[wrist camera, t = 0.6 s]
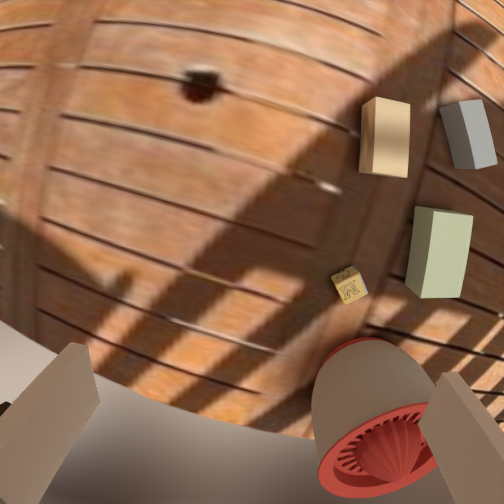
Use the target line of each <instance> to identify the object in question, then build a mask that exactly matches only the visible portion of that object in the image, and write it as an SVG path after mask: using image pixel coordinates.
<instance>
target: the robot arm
mask: <svg viewBox="0 0 504 504" xmlns="http://www.w3.org/2000/svg"><path fill="white" fill-rule="evenodd" d="M99 403H100V400H99V396H98V392H97V387H96V384H95V379H94V374H93V370H92V365H91V360H90V355H89V349H88V346H86V345H81V344H77V343H74V342H71V343H70V344H69V345H68V346H67V347H66V348H65V349H64V350H63V351H62V352H61V353H60V354H59V355H58V356H57V357H56V358H55V359H54V360H53V361H52V362H51V363H50V364H49V365H48V366H47V367H46V368H45V369H44V370H43V371H42V372H41V373H40V374H39V375H38V376H37V377H36V378H35V380H34V381H33V382H32V383H31V384H30V385H29V386H28V387H27V388H26V389H25V390H24V391H23V392H22V393H21V394H20V395H19V397H18V398H17V399H16V400H15V401H14V402H13V403H12V404H11V403H9V402H4V403H2V404H0V504H38V503H39V501H40V500H41V498H42V496H43V494H44V493H45V491H46V489H47V487H48V486H49V484H50V482H51V480H52V479H53V477H54V476H55V474H56V472H57V470H58V469H59V467H60V465H61V464H62V462H63V460H64V459H65V457H66V455H67V454H68V452H69V450H70V449H71V447H72V446H73V444H74V442H75V441H76V439H77V437H78V436H79V434H80V433H81V431H82V429H83V428H84V426H85V425H86V423H87V421H88V420H89V418H90V417H91V415H92V413H93V412H94V410H95V409H96V407H97V406H98V404H99ZM418 426H419V428H420V430H421V432H422V434H423V436H424V438H425V440H426V442H427V444H428V446H429V448H430V450H431V452H432V454H433V456H434V458H435V460H436V462H437V464H438V466H439V468H440V470H441V473H442V475H443V477H444V479H445V481H446V483H447V485H448V488H449V490H450V492H451V494H452V496H453V499H454V501H455V503H456V504H504V432H503V431H502V430H501V428H500V427H499V426H498V424H497V423H496V421H495V420H494V419H493V417H492V416H491V415H490V413H489V412H488V411H487V409H486V408H485V407H484V405H483V404H482V403H481V402H480V400H479V399H478V398H477V396H476V395H475V394H474V393H473V391H472V390H471V389H470V387H469V386H468V385H467V384H466V382H465V381H464V380H463V379H462V377H461V376H460V375H459V374H458V373H457V371H456V372H446V373H442V374H441V377H440V379H439V381H438V383H437V386H436V388H435V390H434V392H433V394H432V397H431V399H430V401H429V403H428V405H427V407H426V409H425V411H424V413H423V415H422V417H421V419H420V421H419V423H418Z"/></svg>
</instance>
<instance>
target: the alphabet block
mask: <svg viewBox="0 0 504 504" xmlns="http://www.w3.org/2000/svg"><path fill="white" fill-rule="evenodd" d="M331 279H332V281H333V283H334V285H335V287H336V289H337V291H338V293H339V295H340V297H341V299H342V301H343V303H344V305H347V304H349V303H351V302H353V301H355V300H357V299H359V298H360V297H362V296H364V295H366V294H368V291H367V289H366V287H365V284H364V282H363V280H362V277H361V275H360V273H359V272H358V270H357V269H356V268H355V267H354V266H353V265H352V266H350V267H348V268H346V269H344V270H342V271H340V272H339V273H337V274H335V275H333V276H331Z"/></svg>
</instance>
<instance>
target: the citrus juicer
mask: <svg viewBox="0 0 504 504" xmlns="http://www.w3.org/2000/svg"><path fill="white" fill-rule="evenodd" d="M435 388H436V387H435V385H434V384H433V382H432V381H431V379H430V378H429V377H428V375H427V374H426V372H425V371H424V370H423V368H422V367H421V366H420V365H419V364H418V363H417V361H416V360H414V359H413V358H412V357H411V356H410V355H408V354H407V353H406V352H405V351H403V350H402V349H400V348H398V347H397V346H396V345H394V344H392V343H390V342H388V341H385V340H382V339H378V338H373V337H362V338H356V339H353V340H350V341H347V342H345V343H343V344H341V345H339V346H338V347H337V348H335V349H334V350H333V351H332V352H331V353H330V354H329V355H328V356H327V357H326V358H325V360H324V361H323V362H322V364H321V366H320V368H319V371H318V373H317V375H316V378H315V382H314V389H313V394H312V403H311V411H312V424H313V431H314V437H315V443H316V449H317V456H318V463H319V467H318V479H319V481H320V484H321V485H322V486H323V487H324V488H325V489H326V490H327V491H329V492H330V493H333V494H334V495H338V496H341V497H348V498H367V497H374V496H379V495H383V494H386V493H390V492H392V491H395V490H398V489H400V488H403V487H405V486H407V485H409V484H411V483H413V482H415V481H416V480H418V479H420V478H421V477H423V476H424V475H426V474H427V473H428V472H430V471H431V470H432V469H434V468H435V467H436V466H437V465H438V464H437V462H436V460H435V458H434V456H433V454H432V452H431V450H430V448H429V446H428V444H427V442H426V440H425V438H424V436H423V434H422V432H421V430H420V428H419V426H418V423H419V421H420V419H421V417H422V415H423V413H424V411H425V409H426V407H427V405H428V403H429V401H430V399H431V397H432V394H433V392H434V390H435Z"/></svg>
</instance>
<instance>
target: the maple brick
mask: <svg viewBox="0 0 504 504" xmlns="http://www.w3.org/2000/svg"><path fill="white" fill-rule="evenodd" d="M409 135H410V104H406V103H402V102H398V101H393V100H389V99H384V98H380V97H375V98H373V99H372V100H370V101H368V102H367V103H365V104H364V105H362V121H361V142H360V159H359V172H360V173H367V174H374V175H381V176H388V177H402V178H407V172H408V157H409Z"/></svg>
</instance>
